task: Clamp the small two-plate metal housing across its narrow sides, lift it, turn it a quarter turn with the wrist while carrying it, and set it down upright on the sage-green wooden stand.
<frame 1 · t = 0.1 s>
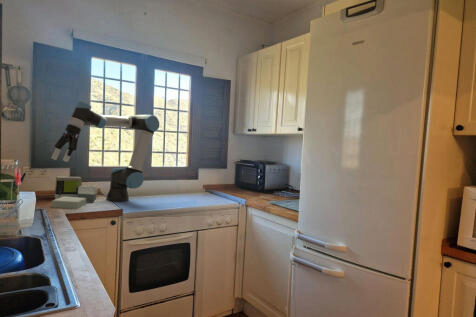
hand: (59, 160, 171), 28 cm above the worktop, tool tilted 20°, fingers open, 13 cm apart
housing: (86, 201, 203), on the worktop
tea box: (67, 198, 205), on the worktop
stand: (69, 205, 183), on the worktop
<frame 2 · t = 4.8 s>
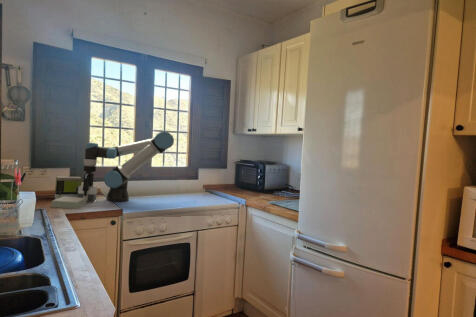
hand: (86, 199, 203), 1 cm above the worktop, tool pointing down, fingers closed on housing, 6 cm apart
housing: (86, 201, 203), on the worktop, touching gripper
everything else where it was.
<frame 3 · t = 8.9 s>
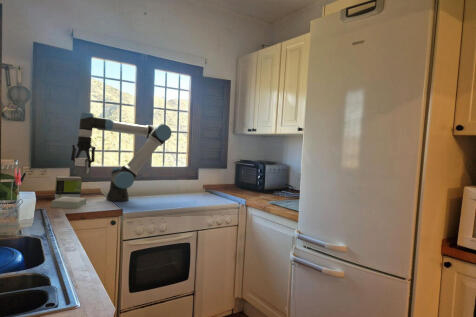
hand: (81, 172, 194), 20 cm above the worktop, tool pointing down, fingers closed on housing, 6 cm apart
housing: (81, 173, 194), point 19 cm above the worktop, touching gripper
everything else where it was.
when the fingers open (5 cm above the worktop, at t = 13.1 s): housing stays where it is, resting on stand.
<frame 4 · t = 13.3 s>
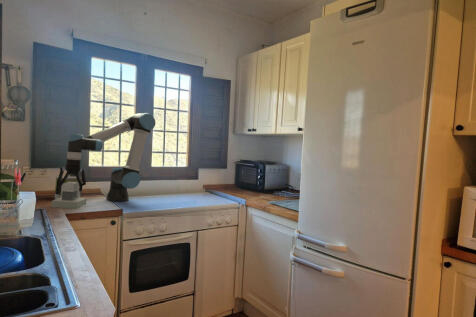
hand: (70, 196, 183), 6 cm above the worktop, tool pointing down, fingers open, 8 cm apart
housing: (70, 199, 183), point 4 cm above the worktop, touching stand
everything else where it was.
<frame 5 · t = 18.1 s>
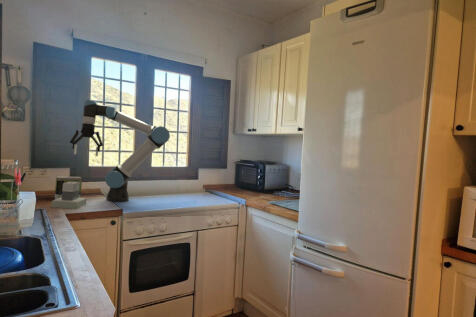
hand: (85, 155, 201), 31 cm above the worktop, tool pointing down, fingers open, 13 cm apart
nothing on the worktop moved.
at the end: housing inside the target area on the stand (0.1 cm from its centre), point 4.0 cm above the stand's base; housing tilted 0°; the gripper is holding nothing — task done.
